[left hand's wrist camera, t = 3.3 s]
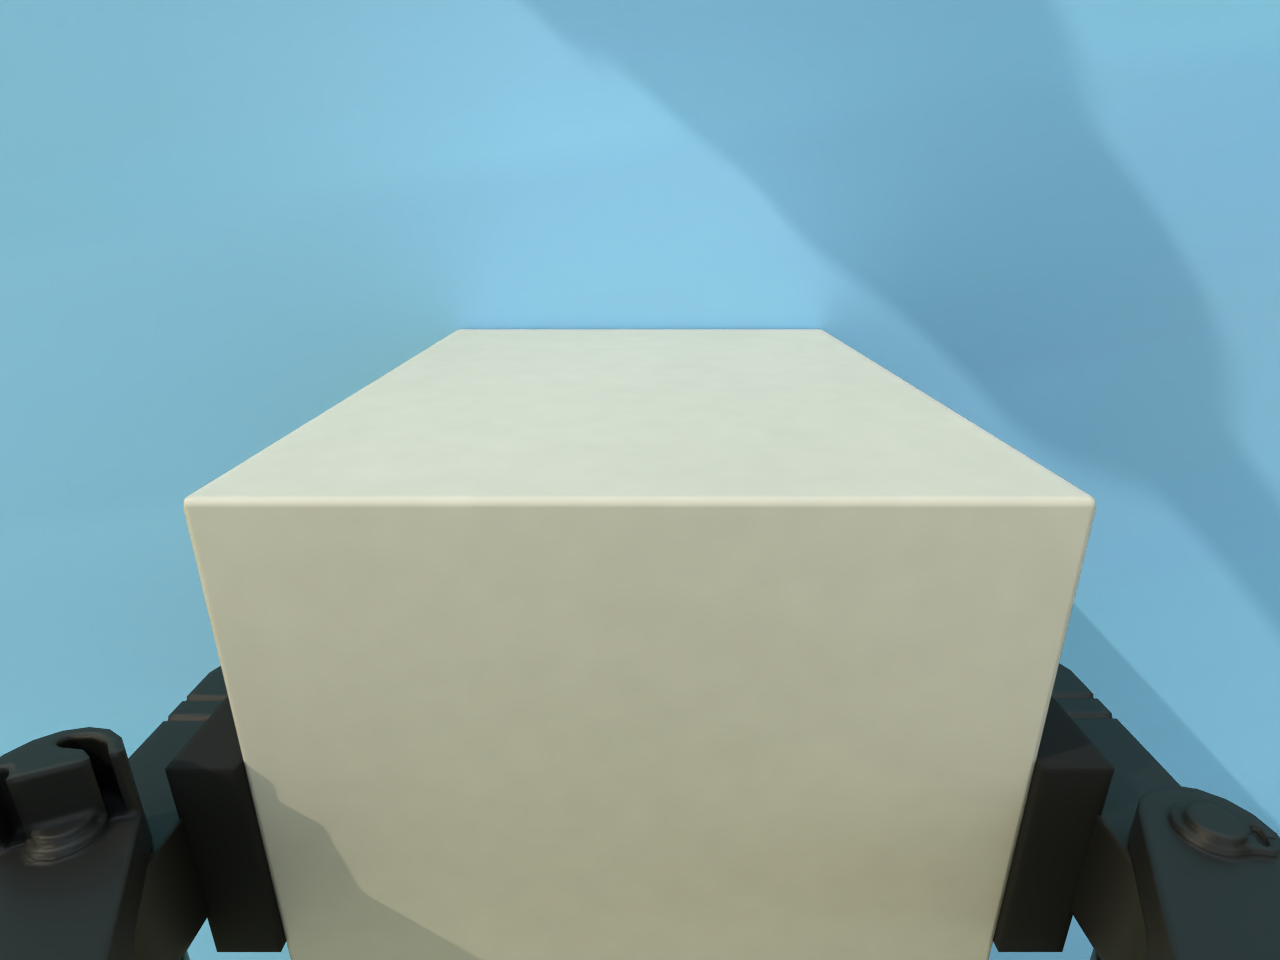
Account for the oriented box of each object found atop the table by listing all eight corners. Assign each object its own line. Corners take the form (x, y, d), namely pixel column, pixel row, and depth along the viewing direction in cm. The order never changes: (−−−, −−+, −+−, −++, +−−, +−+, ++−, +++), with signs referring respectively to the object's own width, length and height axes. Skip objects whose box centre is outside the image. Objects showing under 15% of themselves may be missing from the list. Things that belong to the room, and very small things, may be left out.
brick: (823, 328, 17) (1103, 498, 7) (795, 651, 20) (957, 1105, 10) (456, 328, 17) (175, 498, 7) (484, 651, 20) (322, 1103, 10)
